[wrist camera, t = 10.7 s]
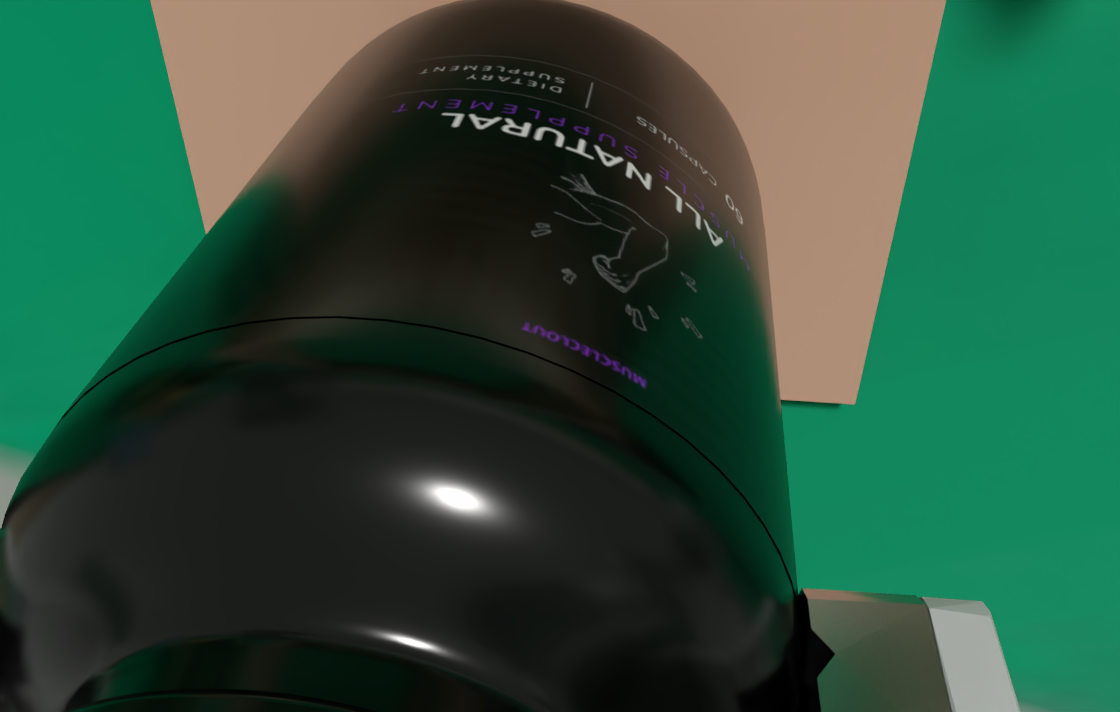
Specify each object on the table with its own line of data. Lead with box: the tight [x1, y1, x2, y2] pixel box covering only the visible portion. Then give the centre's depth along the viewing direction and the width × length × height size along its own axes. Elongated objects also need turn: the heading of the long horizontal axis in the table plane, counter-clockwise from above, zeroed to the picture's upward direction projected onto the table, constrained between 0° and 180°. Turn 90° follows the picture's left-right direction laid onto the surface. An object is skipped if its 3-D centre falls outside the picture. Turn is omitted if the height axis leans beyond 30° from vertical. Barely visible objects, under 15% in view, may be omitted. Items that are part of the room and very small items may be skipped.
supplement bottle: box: [0, 0, 802, 712], centre depth 11 cm, size 7×7×12 cm
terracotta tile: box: [150, 0, 946, 404], centre depth 17 cm, size 12×10×1 cm
